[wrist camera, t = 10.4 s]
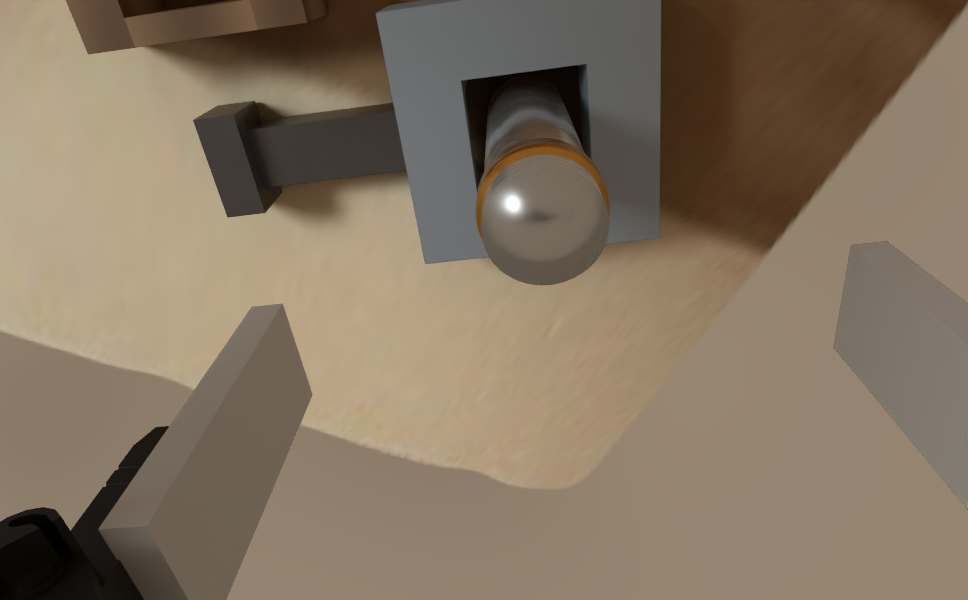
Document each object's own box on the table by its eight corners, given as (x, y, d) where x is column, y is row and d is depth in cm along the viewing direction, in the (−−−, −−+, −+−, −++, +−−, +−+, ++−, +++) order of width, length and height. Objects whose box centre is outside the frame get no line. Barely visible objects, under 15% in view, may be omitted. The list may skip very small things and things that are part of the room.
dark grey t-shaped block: (247, 196, 35) (227, 217, 32) (217, 106, 33) (192, 120, 30) (424, 175, 34) (418, 194, 32) (406, 80, 32) (398, 92, 29)
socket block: (432, 233, 36) (425, 263, 33) (389, 4, 30) (375, 12, 27) (643, 208, 35) (659, 238, 32) (642, -32, 29) (661, -29, 26)
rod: (489, 160, 34) (484, 296, 21) (478, 76, 32) (464, 169, 19) (571, 150, 34) (617, 283, 21) (565, 64, 31) (613, 150, 18)
